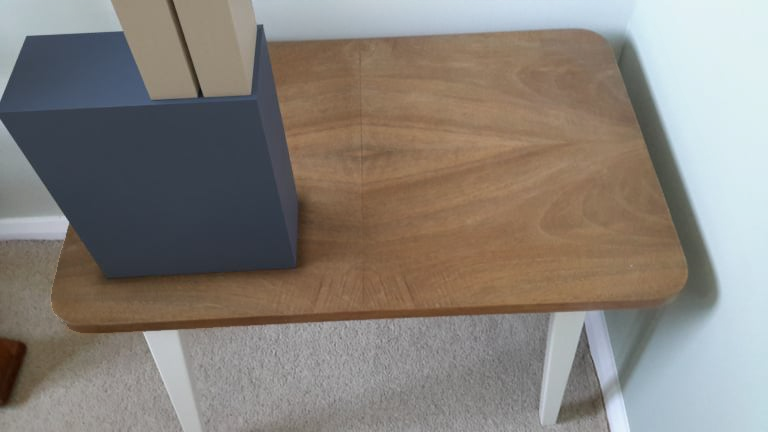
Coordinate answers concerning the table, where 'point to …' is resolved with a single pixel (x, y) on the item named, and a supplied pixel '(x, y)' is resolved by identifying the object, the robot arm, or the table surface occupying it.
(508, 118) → the table surface
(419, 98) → the table surface
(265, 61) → the grey bookend block
